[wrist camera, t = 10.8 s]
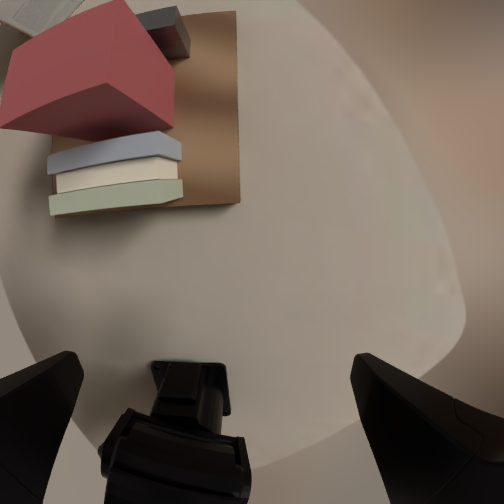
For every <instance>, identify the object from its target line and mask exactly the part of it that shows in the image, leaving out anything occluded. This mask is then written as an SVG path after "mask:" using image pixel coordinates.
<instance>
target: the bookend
mask: <svg viewBox="0 0 504 504" xmlns="http://www.w3.org/2000/svg"><path fill="white" fill-rule="evenodd" d="M135 16H136V17H137V19H138V20H139V21H140V23H141V24H142V25H143V27H144V28H145V30H146V31H147V32H148V34H149V35H150V37H151V38H152V39H153V41H154V42H155V44H156V45H157V47H158V48H159V49H160V51H161V52H162V54H163V55H164V57H165V58H166V59H167V61H170V60H177V59H184V58H190V48H191V39H190V37H189V34H188V32H187V30H186V27H185V25H184V22H183V20H182V18H181V15H180V13H179V10H178V8H177V6H173V7H167V8H162V9H157V10H153V11H149V12H144V13H140V14H137V15H135Z"/></svg>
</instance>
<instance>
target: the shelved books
mask: <svg viewBox="0 0 504 504" xmlns="http://www.w3.org/2000/svg"><path fill="white" fill-rule="evenodd" d="M179 160H182V153H181V143H180V142H179V141H177V140H175V139H173V138H171V137H170V136H168V135H166V134H164V133H162V132H160V131H155V132H148V133H142V134H136V135H130V136H125V137H119V138H114V139H109V140H105V141H100V142H96V143H91V144H87V145H83V146H79V147H75V148H71V149H68V150H64V151H61V152H57V153H54V154H50V155H47V175H52V174H56V181H57V194H56V195H51V196H49V208H50V216H51V215H58V214H65V213H73V212H80V211H88V210H96V209H105V208H114V207H124V206H135V205H146V204H158V203H164V202H167V201H171V200H174V199H178V198H181V197H183V183H182V179H178V175H177V161H179ZM66 192H67V193H66ZM58 193H62V194H58Z"/></svg>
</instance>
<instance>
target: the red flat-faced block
mask: <svg viewBox="0 0 504 504" xmlns="http://www.w3.org/2000/svg"><path fill="white" fill-rule="evenodd" d="M174 87H175V71H174V70H173V68H172V67H171V65H170V64H169V62H168V61H167V59H166V58H165V57H164V55H163V54H162V52H161V51H160V49H159V48H158V47H157V45H156V44H155V42H154V41H153V39H152V38H151V37H150V35H149V34H148V32H147V31H146V30H145V28H144V27H143V25H142V24H141V23H140V21H139V20H138V19H137V17H136V16H135V14H134V13H133V12H132V10H131V9H130V8H129V6H128V5H127V4H126V2H125V1H124V0H113V1H110V2H107V3H105V4H102V5H99V6H97V7H94V8H92V9H89V10H87V11H84V12H82V13H80V14H77V15H75V16H73V17H71V18H69V19H67V20H64V21H62V22H60V23H58V24H56V25H55V26H53V27H51V28H49V29H47V30H45V31H43V32H42V33H40V34H38V35H36V36H35V37H33V38H31V39H30V40H28V41H26V42H25V43H23V44H22V45H20V46H19V47H17V48H16V49H14V50H13V52H12V55H11V59H10V63H9V66H8V71H7V75H6V79H5V84H4V89H3V95H2V101H1V107H0V128H2V129H12V130H21V131H29V132H36V133H43V134H50V135H56V136H63V137H69V138H74V139H80V140H85V141H91V142H95V141H99V140H103V139H108V138H113V137H118V136H123V135H128V134H134V133H140V132H146V131H152V130H159V129H167V128H174Z"/></svg>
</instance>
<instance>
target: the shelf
mask: <svg viewBox="0 0 504 504" xmlns="http://www.w3.org/2000/svg"><path fill="white" fill-rule="evenodd" d="M181 18H182V20H183V22H184V25H185V27H186V30H187V32H188V34H189V37H190V39H191V48H190V58H184V59H177V60H170V61H168V62H169V64H170V65H171V67H172V68H173V70H174V71H175V87H174V128H167V129H159V130H152V131H146V132H140V133H134V134H128V135H123V136H118V137H113V138H108V139H103V140H99V141H95V142H91V141H85V140H80V139H74V138H69V137H63V136H56V135H52V154H54V153H57V152H61V151H64V150H68V149H71V148H75V147H79V146H83V145H87V144H91V143H96V142H100V141H105V140H109V139H114V138H119V137H125V136H130V135H136V134H142V133H148V132H155V131H160V132H162V133H164V134H166V135H168V136H170V137H171V138H173V139H175V140H177V141H179V142H180V143H181V153H182V160H179V161H177V175H178V179H182V183H183V197H181V198H178V199H174V200H171V201H167V202H164V203H158V204H146V205H135V206H124V207H114V208H105V209H96V210H88V211H80V212H73V213H65V214H58V215H55V218H62V217H69V216H77V215H86V214H94V213H104V212H113V211H123V210H134V209H146V208H159V207H172V206H188V205H206V204H227V203H240V201H241V199H240V167H239V131H238V88H237V30H236V11H225V12H212V13H202V14H194V15H187V16H181ZM52 186H53V195H56V194H57V181H56V174H52ZM66 193H67V192H66ZM58 194H62V193H58Z"/></svg>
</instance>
